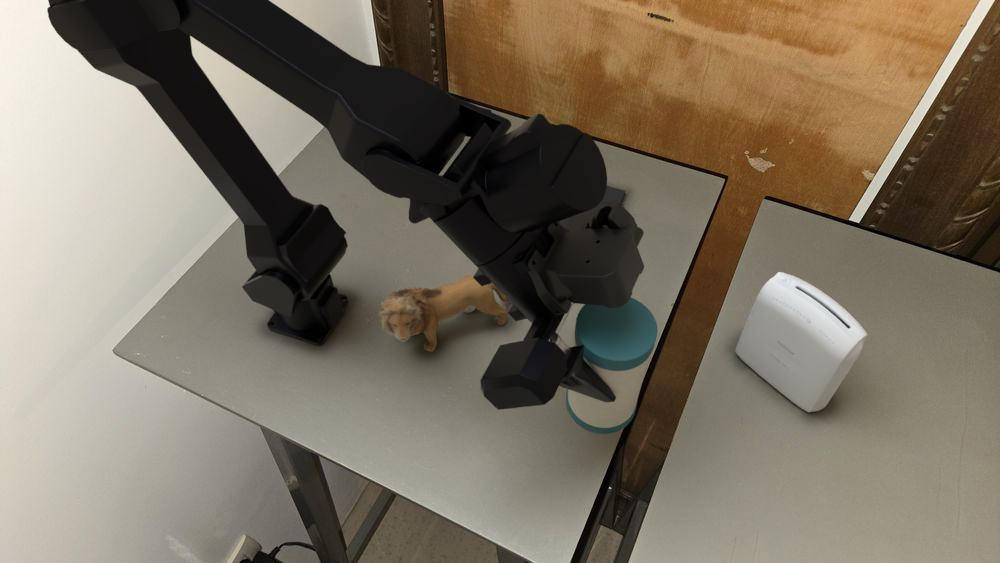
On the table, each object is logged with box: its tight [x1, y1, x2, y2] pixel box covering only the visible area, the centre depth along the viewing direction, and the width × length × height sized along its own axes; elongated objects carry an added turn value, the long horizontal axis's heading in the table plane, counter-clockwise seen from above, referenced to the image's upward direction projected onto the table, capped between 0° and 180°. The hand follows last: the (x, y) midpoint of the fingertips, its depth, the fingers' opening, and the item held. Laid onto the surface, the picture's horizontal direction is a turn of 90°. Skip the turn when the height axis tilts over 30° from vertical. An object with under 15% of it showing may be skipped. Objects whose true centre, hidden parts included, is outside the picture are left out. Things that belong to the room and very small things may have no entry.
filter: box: [565, 297, 658, 435], centre depth 62 cm, size 6×6×12 cm
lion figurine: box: [378, 274, 511, 353], centre depth 76 cm, size 15×5×9 cm, turn 122°
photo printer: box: [734, 271, 868, 413], centre depth 71 cm, size 10×4×12 cm, turn 39°
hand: (624, 369), depth 61 cm, fingers closed on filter, 6 cm apart
